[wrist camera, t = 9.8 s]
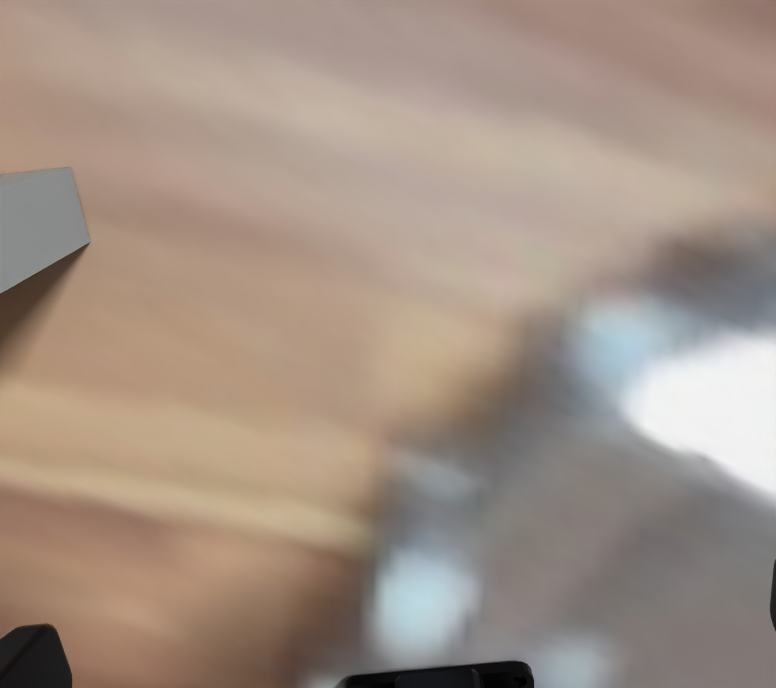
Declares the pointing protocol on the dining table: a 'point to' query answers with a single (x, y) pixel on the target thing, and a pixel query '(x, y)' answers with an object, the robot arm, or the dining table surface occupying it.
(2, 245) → the gray u-shaped block
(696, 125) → the dining table surface
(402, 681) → the robot arm
